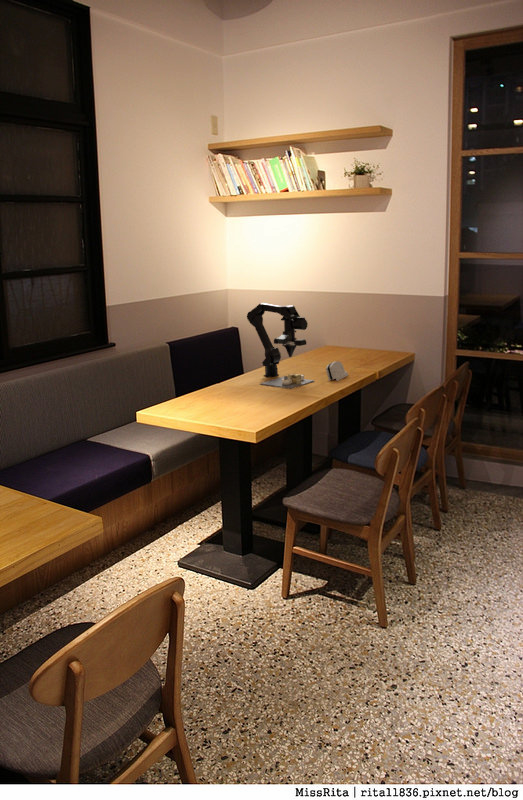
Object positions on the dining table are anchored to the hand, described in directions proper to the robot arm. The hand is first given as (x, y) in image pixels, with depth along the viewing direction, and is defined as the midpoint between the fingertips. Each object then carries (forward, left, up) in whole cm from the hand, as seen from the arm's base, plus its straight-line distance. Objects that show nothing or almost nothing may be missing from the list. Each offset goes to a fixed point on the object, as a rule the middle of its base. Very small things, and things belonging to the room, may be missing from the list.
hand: (290, 357), depth 379 cm
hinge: (+21, +14, -12) cm, 28 cm away
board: (+5, -10, -12) cm, 17 cm away
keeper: (+11, -11, -12) cm, 20 cm away
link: (+9, -10, -11) cm, 18 cm away
